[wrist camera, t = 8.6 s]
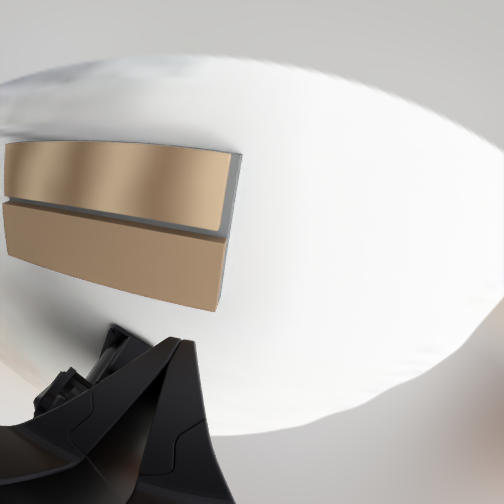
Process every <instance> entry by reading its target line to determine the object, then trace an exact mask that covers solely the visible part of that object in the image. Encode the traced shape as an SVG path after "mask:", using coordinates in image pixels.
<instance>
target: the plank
mask: <svg viewBox="0 0 504 504" xmlns="http://www.w3.org/2000/svg"><path fill="white" fill-rule="evenodd" d="M231 155H232V154H229V153H223V152H216V151H208V150H200V149H192V148H183V147H174V146H164V145H152V144H139V143H123V142H99V141H43V142H21V143H9V144H6V146H5V166H4V194H5V196H8V197H15V198H22V199H29V200H35V201H42V202H48V203H55V204H61V205H68V206H74V207H80V208H86V209H92V210H99V211H105V212H111V213H117V214H123V215H129V216H135V217H141V218H146V219H152V220H158V221H164V222H170V223H175V224H181V225H187V226H192V227H198V228H204V229H209V230H215V231H218V229H219V228H220V225H221V218H222V212H223V205H224V199H225V192H226V186H227V179H228V173H229V167H230V161H231Z"/></svg>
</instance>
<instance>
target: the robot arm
mask: <svg viewBox="0 0 504 504" xmlns="http://www.w3.org/2000/svg"><path fill="white" fill-rule="evenodd" d="M33 403H34V407H35V412H34V418H33V419H31V420H29V421H26V422H24V423H21V424H18V425H13V426H0V504H236V503H235V500H234V498H233V496H232V494H231V492H230V490H229V487H228V485H227V483H226V481H225V478H224V476H223V474H222V471H221V469H220V466H219V464H218V461H217V458H216V455H215V453H214V450H213V447H212V443H211V439H210V434H209V429H208V424H207V419H206V413H205V407H204V401H203V395H202V388H201V381H200V375H199V367H198V360H197V352H196V344H195V342H194V341H191V340H185V339H183V340H181V339H180V338H175V337H168V338H166V339H165V340H163V341H162V342H160V343H159V344H157V345H156V346H154V347H153V348H152V347H150V346H148V345H147V344H145V343H144V342H142V341H140V340H139V339H137V338H135V337H134V336H132V335H131V334H129V333H128V332H126V331H125V330H123V329H122V328H120V327H119V326H117V325H112V327H111V328H110V330H109V332H108V335H107V338H106V341H105V343H104V346H103V349H102V352H101V355H100V358H99V360H98V362H97V363H96V365H95V366H94V367H93V369H92V370H91V372H90V373H89V375H88V376H87V378H86V379H85V378H83V377H82V376H81V375H79V374H78V373H77V372H76V370H75V369H73V368H72V367H70V369H69V370H68V371H67V372H65V371H64V372H60V373H59V374H58V376H57V377H56V378H55V380H54V381H53V382H52V383H51V384H50V385H49V386H48V387H47V388H46V389H45V390H44V391H43V392H41V393H40V394H39V395H38V396H37V397H36V398H35V400H34V402H33Z"/></svg>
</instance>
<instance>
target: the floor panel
mask: <svg viewBox="0 0 504 504" xmlns="http://www.w3.org/2000/svg"><path fill="white" fill-rule="evenodd" d="M54 141H91V140H54ZM27 142H43V141H27ZM99 142H120V141H99ZM15 143H21V142H15ZM123 143H137V142H123ZM139 144H151V143H139ZM152 145H163V144H152ZM164 146H173V145H164ZM174 147H183V146H174ZM183 148H192V147H183ZM192 149H200V148H192ZM200 150H208V149H200ZM208 151H215V150H208ZM216 152H222V151H216ZM223 153H229V152H223ZM229 154H232V155H231V161H230V167H229V173H228V179H227V186H226V192H225V199H224V205H223V212H222V218H221V225H220V228H219V229H218V231H215V230H209V229H204V228H198V227H192V226H187V225H181V224H175V223H170V222H164V221H158V220H152V219H146V218H141V217H135V216H129V215H123V214H117V213H111V212H105V211H99V210H92V209H86V208H80V207H74V206H68V205H61V204H55V203H48V202H42V201H35V200H29V199H22V198H15V197H10V201H8V202H5V203H2V204H3V218H4V228H5V237H6V244H7V251H8V255H10V256H13V257H15V258H18V259H21V260H24V261H27V262H30V263H33V264H35V265H38V266H41V267H44V268H48V269H51V270H54V271H57V272H60V273H63V274H66V275H70V276H73V277H76V278H79V279H83V280H86V281H90V282H93V283H97V284H100V285H104V286H107V287H111V288H115V289H118V290H122V291H126V292H130V293H133V294H137V295H141V296H145V297H149V298H153V299H158V300H162V301H166V302H170V303H175V304H179V305H183V306H188V307H192V308H197V309H202V310H207V311H211V312H215V311H216V308H217V305H218V302H219V299H220V296H221V289H222V282H223V275H224V268H225V261H226V254H227V248H228V241H229V234H230V228H231V221H232V215H233V209H234V202H235V196H236V190H237V184H238V178H239V172H240V166H241V160H242V154H236V153H229Z"/></svg>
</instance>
